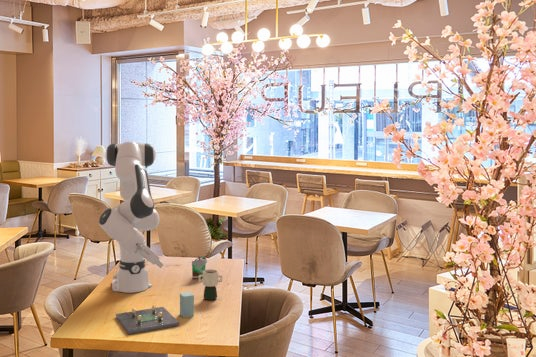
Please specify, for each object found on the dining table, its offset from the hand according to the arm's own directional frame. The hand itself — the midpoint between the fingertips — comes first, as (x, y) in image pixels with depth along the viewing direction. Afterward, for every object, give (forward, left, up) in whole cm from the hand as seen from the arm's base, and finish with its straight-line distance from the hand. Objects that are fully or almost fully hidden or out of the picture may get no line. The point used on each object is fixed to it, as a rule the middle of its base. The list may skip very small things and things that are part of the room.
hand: (158, 263), depth 212 cm
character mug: (-15, +29, -24) cm, 41 cm away
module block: (0, +12, -24) cm, 27 cm away
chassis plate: (0, -5, -23) cm, 24 cm away
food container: (-49, +38, -24) cm, 67 cm away
